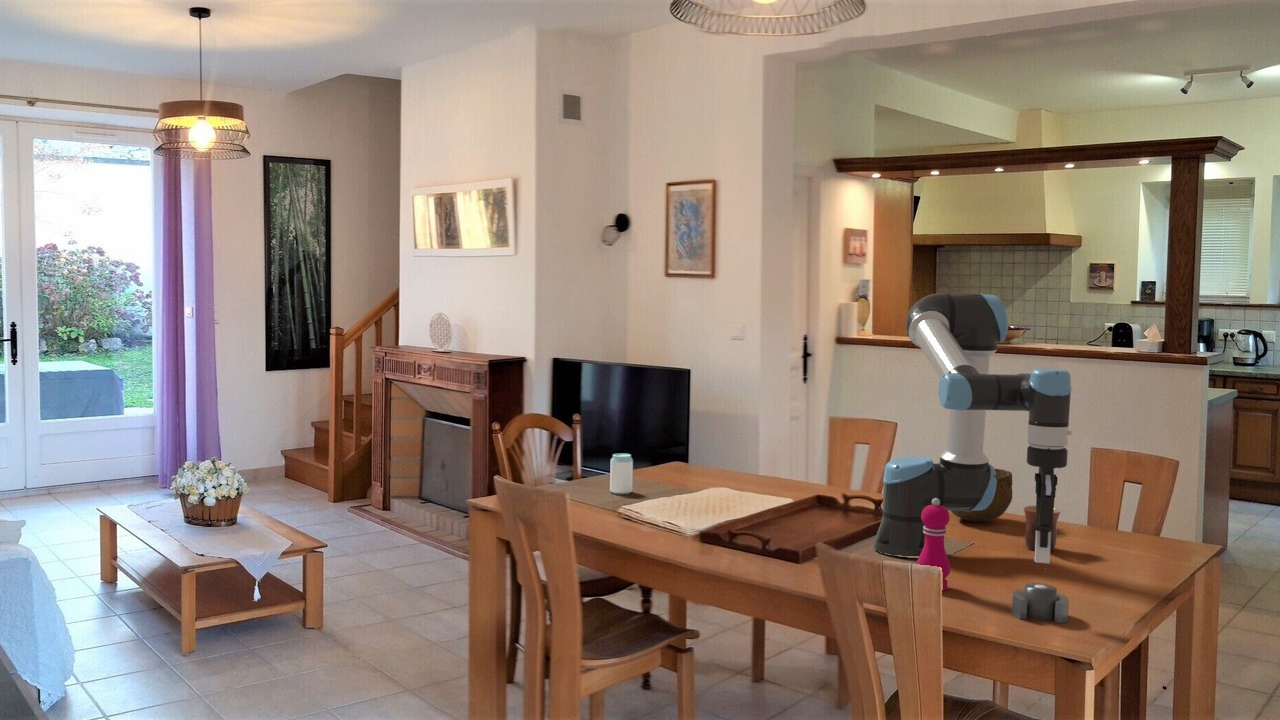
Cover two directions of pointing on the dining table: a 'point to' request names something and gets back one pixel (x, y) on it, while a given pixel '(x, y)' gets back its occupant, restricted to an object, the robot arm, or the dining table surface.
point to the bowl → (998, 503)
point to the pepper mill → (935, 538)
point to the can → (621, 474)
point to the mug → (1031, 523)
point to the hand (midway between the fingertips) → (1042, 561)
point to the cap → (1040, 601)
